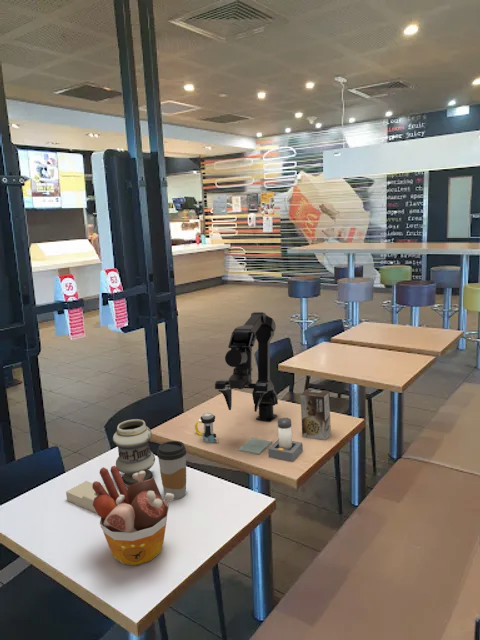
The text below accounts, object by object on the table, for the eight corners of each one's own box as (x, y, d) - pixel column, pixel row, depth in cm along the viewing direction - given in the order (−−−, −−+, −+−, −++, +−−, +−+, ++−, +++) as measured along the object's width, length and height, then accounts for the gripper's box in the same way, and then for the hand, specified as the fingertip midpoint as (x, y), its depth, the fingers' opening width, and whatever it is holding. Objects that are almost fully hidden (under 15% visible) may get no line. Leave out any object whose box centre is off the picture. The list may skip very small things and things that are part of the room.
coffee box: (331, 433, 182) (330, 391, 179) (325, 440, 176) (324, 396, 173) (307, 430, 186) (306, 388, 183) (301, 436, 181) (299, 394, 178)
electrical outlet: (85, 477, 152) (127, 493, 141) (87, 490, 152) (128, 506, 142) (65, 488, 146) (107, 505, 136) (67, 501, 147) (108, 519, 136)
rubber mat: (251, 439, 181) (251, 437, 181) (271, 442, 177) (271, 441, 177) (238, 450, 172) (238, 449, 172) (259, 454, 168) (258, 453, 168)
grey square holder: (279, 446, 174) (279, 437, 173) (302, 450, 169) (302, 441, 169) (268, 457, 166) (268, 447, 166) (292, 461, 162) (292, 452, 162)
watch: (211, 434, 188) (211, 419, 186) (208, 437, 185) (208, 422, 184) (197, 431, 190) (197, 417, 189) (193, 434, 188) (193, 419, 186)
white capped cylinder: (282, 450, 171) (281, 416, 169) (294, 452, 169) (293, 418, 166) (277, 455, 167) (275, 421, 165) (289, 458, 165) (287, 423, 163)
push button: (222, 440, 181) (221, 414, 180) (213, 446, 177) (211, 419, 175) (208, 436, 185) (206, 410, 183) (199, 442, 181) (197, 415, 179)
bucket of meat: (190, 544, 123) (184, 468, 119) (144, 585, 110) (135, 502, 106) (131, 521, 134) (124, 452, 130) (82, 557, 120) (72, 480, 117)
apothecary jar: (110, 479, 157) (104, 425, 154) (142, 465, 166) (137, 413, 162) (131, 492, 149) (125, 435, 146) (164, 476, 157) (159, 422, 154)
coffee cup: (178, 484, 152) (174, 437, 150) (195, 493, 146) (191, 445, 144) (155, 495, 147) (150, 447, 144) (172, 505, 141) (168, 455, 138)
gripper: (208, 365, 167) (208, 412, 167) (262, 367, 161) (262, 416, 161) (220, 363, 178) (220, 407, 177) (272, 365, 172) (271, 411, 171)
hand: (242, 410), depth 171 cm, fingers open, 9 cm apart
